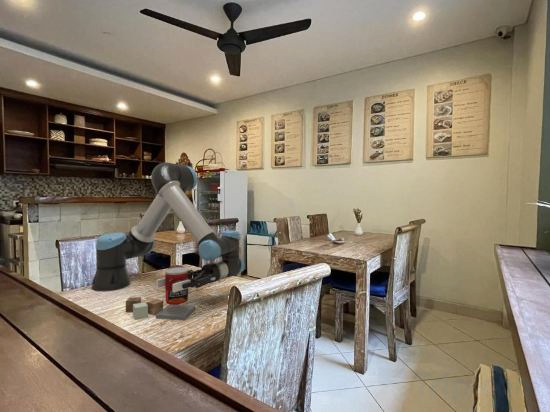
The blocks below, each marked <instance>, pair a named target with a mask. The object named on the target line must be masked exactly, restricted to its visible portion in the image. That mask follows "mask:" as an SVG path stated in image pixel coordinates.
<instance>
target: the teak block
mask: <svg viewBox="0 0 550 412" xmlns="http://www.w3.org/2000/svg"><path fill="white" fill-rule="evenodd" d="M145 302H146V304H147V305H148V315H152V316H156V314H157V313H159V312H160V311H161V310H162V309H164V300H163V299H158V298H154V299H149V300H148V301H145Z"/></svg>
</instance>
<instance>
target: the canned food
mask: <svg viewBox="0 0 550 412" xmlns="http://www.w3.org/2000/svg"><path fill="white" fill-rule="evenodd" d="M188 270H189V268H188V267H187V268H186V267H184V268H182V267H178V268H170V269H168V268H167V269H166V270H165V274H164V278H165V286H164V288H165V291H164V292H165V295H164V296H165V302H166V304H168V305H169V304H170V305H184V304H185V303H186V302H187V301H188V300H189V288H187V289H184V290H181V291H178V292H174V293H173V292H172V284H175V283H178V282H182V281H185V280H188Z"/></svg>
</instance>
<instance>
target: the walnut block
mask: <svg viewBox="0 0 550 412" xmlns="http://www.w3.org/2000/svg"><path fill="white" fill-rule="evenodd" d="M138 303H142V297H141V296H137V297H136V296H132V297H128V298H127V299H126V301H125V313H133V304H138Z"/></svg>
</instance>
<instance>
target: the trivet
mask: <svg viewBox="0 0 550 412" xmlns="http://www.w3.org/2000/svg"><path fill="white" fill-rule="evenodd" d="M195 310H196V305H193V304H178V305H170V304H168V305H166V306H165V307H163V309H162V310H161V311H160V312H159V313H157V314H156V315H155V319H162V320H182V321H185V320H186V319H187V318H188V317H189V316H190V315H191V314H192V313H193V312H194V311H195Z"/></svg>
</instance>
